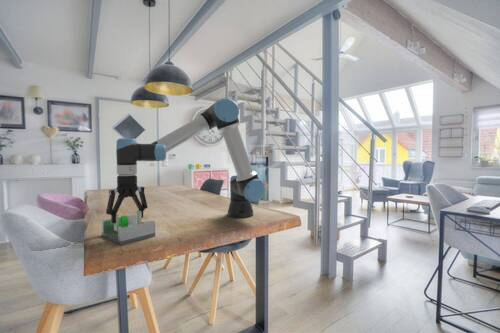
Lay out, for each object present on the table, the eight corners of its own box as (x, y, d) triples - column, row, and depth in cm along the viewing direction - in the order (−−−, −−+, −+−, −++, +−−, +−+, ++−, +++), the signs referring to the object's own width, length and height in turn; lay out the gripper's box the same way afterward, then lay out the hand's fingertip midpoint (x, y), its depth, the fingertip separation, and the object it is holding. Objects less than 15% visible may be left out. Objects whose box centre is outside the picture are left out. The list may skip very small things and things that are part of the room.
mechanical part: (139, 234, 98) (138, 215, 98) (122, 237, 95) (122, 217, 95) (133, 227, 108) (133, 210, 108) (118, 230, 104) (118, 212, 104)
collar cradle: (155, 236, 101) (155, 220, 101) (120, 245, 90) (120, 228, 90) (134, 228, 113) (134, 214, 113) (101, 235, 102) (101, 220, 102)
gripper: (102, 177, 90) (103, 236, 91) (155, 174, 107) (156, 223, 107) (95, 176, 95) (96, 232, 96) (147, 173, 112) (148, 221, 112)
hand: (128, 227), depth 102 cm, fingers open, 9 cm apart
